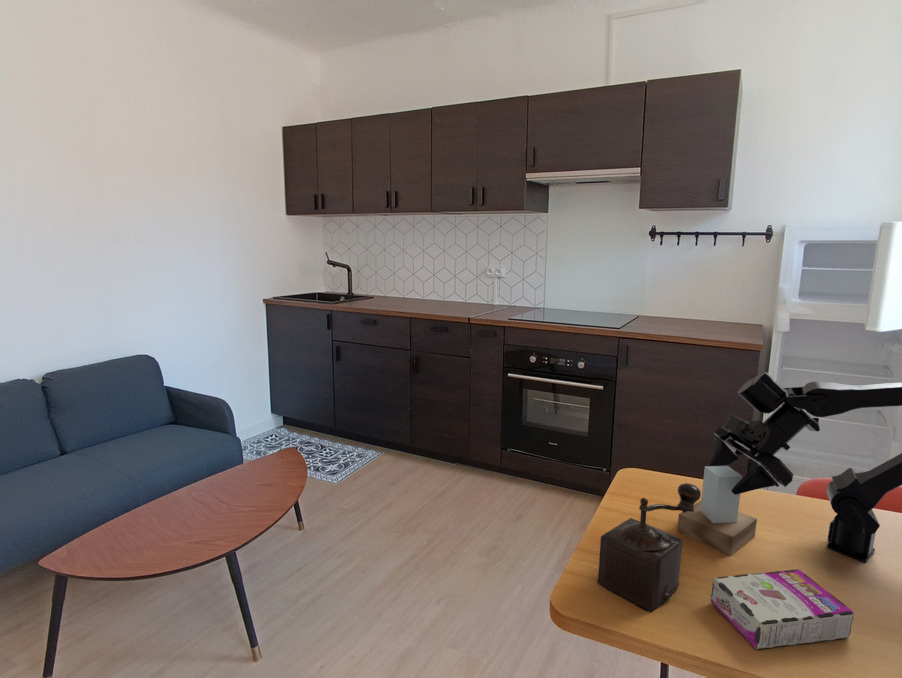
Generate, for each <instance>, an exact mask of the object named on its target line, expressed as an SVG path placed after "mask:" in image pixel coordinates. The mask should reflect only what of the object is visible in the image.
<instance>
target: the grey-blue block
mask: <svg viewBox="0 0 902 678" xmlns="http://www.w3.org/2000/svg"><path fill="white" fill-rule="evenodd" d="M703 471H704V472H703V479H702V480H703V481H702V490H701V491H702V492H701V496H700V498H701V499H700V501H701V507H700V511H701V512H702V513H703V514H704V515H705V516H706V517H707V518H708V519H709V520H710V521H712V522H713V523H734V522H737V517H738V512H739V508H740V507H739V506H740V500H741V494H737V495H735V494H733V493H732V491H731V490H732V489H733V488H734V486H735V485H736V484H737V483H738V482H739V481H740V480H741V479H742V478H743V475H741V474H740V473H739V472H737V471H736V470H735V469H733V468H731V467H730V466H729V465H727V466H709V465H708V466H707V465H706V466H704V470H703Z"/></svg>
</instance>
